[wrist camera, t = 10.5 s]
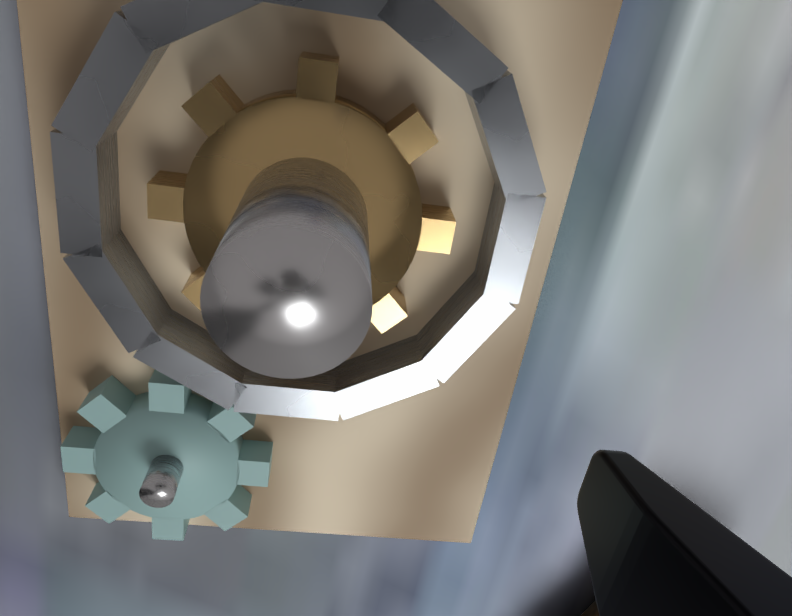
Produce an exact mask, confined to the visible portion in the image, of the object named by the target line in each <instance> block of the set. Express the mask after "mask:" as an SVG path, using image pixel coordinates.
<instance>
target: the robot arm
mask: <svg viewBox="0 0 792 616" xmlns="http://www.w3.org/2000/svg"><path fill="white" fill-rule="evenodd" d="M577 508H578V515H579V520H580V525H581V530H582V535H583V539H584V544H585V549H586V554H587V559H588V564H589V569H590V574H591V579H592V584H593V589H594V594H595V599H596V603H597V607H598V611H599V616H792V577H791V576H789V575H788V574H787V573H785V572H784V571H783V570H781V569H780V568H779V567H777V566H776V565H775V564H774V563H772V562H771V561H770V560H768V559H767V558H766V557H764V556H763V555H762V554H760V553H759V552H758V551H756V550H755V549H754V548H752V547H751V546H750V545H748V544H747V543H746V542H744V541H743V540H742V539H741V538H739V537H738V536H737V535H735V534H734V533H733V532H731V531H730V530H729V529H727V528H726V527H725V526H723V525H722V524H721V523H719V522H718V521H717V520H715V519H714V518H713V517H711V516H710V515H709V514H708V513H706V512H705V511H704V510H702V509H701V508H700V507H698V506H697V505H696V504H694V503H693V502H692V501H690V500H689V499H688V498H686V497H685V496H684V495H682V494H681V493H680V492H679V491H677V490H676V489H675V488H673V487H672V486H671V485H669V484H668V483H667V482H665V481H664V480H663V479H661V478H660V477H659V476H657V475H656V474H655V473H653V472H652V471H651V470H649V469H648V468H647V467H646V466H644V465H643V464H642V463H640V462H639V461H638V460H636V459H635V458H634V457H632V456H631V455H630V454H628V453H626V452H622V451H611V450H599V451H597V452H595V454H594V455H593V456H592V458H591V461H590V464H589V466H588V469H587V472H586V475H585V477H584V480H583V483H582V486H581V488H580V491H579V494H578V501H577Z"/></svg>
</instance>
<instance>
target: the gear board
mask: <svg viewBox="0 0 792 616" xmlns="http://www.w3.org/2000/svg"><path fill="white" fill-rule="evenodd" d="M622 1H623V0H17V8H18V18H19V28H20V38H21V47H22V57H23V67H24V77H25V87H26V97H27V107H28V116H29V126H30V136H31V146H32V156H33V166H34V175H35V185H36V195H37V205H38V215H39V225H40V234H41V244H42V254H43V264H44V274H45V284H46V294H47V303H48V313H49V323H50V333H51V343H52V353H53V362H54V372H55V382H56V392H57V402H58V412H59V421H60V431H61V441H62V445H61V446H60V447H61V457H62V466H63V472H65V480H66V490H67V500H68V510H69V517H81V518H96V519H103V520H105V521H106V522H107V523H109V524H110V523H111V522H113V521H114V520H127V521H142V522H152V539H162V540H178V541H183V540H184V537H185V534H186V530H187V527H188V525H203V526H218V527H220V528H222V529H223V530H224V531H226V530H228V529H230V528H231V527H234V528H249V529H264V530H280V531H295V532H310V533H326V534H341V535H356V536H372V537H387V538H402V539H418V540H433V541H448V542H464V543H471V540H472V536H473V533H474V529H475V526H476V522H477V519H478V515H479V511H480V508H481V504H482V501H483V497H484V494H485V490H486V487H487V483H488V479H489V476H490V472H491V469H492V465H493V462H494V458H495V454H496V451H497V447H498V444H499V440H500V437H501V433H502V429H503V426H504V422H505V419H506V415H507V412H508V408H509V404H510V401H511V397H512V394H513V390H514V387H515V383H516V379H517V376H518V372H519V369H520V365H521V362H522V358H523V354H524V351H525V347H526V344H527V340H528V337H529V333H530V329H531V326H532V322H533V319H534V315H535V312H536V308H537V305H538V301H539V297H540V294H541V290H542V287H543V283H544V280H545V276H546V272H547V269H548V265H549V262H550V258H551V255H552V251H553V247H554V244H555V240H556V237H557V233H558V230H559V226H560V222H561V219H562V215H563V212H564V208H565V205H566V201H567V197H568V194H569V190H570V187H571V183H572V180H573V176H574V172H575V169H576V165H577V162H578V158H579V155H580V151H581V147H582V144H583V140H584V137H585V133H586V130H587V126H588V123H589V119H590V115H591V112H592V108H593V105H594V101H595V98H596V94H597V90H598V87H599V83H600V80H601V76H602V73H603V69H604V65H605V62H606V58H607V55H608V51H609V48H610V44H611V40H612V37H613V33H614V30H615V26H616V23H617V19H618V15H619V12H620V8H621V5H622ZM302 51H304V52H311V53H317V54H324V55H330V56H337V57H340V59H339V68H338V78H337V88H336V95H339V96H342V97H344V98H347V99H350V100H352V101H353V102H355V103H357V104H359V105H361V106H363V107H364V108H366V109H367V110H369V111H370V112H372V113H373V114H375V115H376V116H377V117H378V118H379V119H380V120H381V121H383V122H384V123H385V124H386V123H387V122H388V121H390V120H391V119H392V118H394V117H395V116H396V115H398V114H399V113H400V112H401V111H403V110H404V109H405V108H407V107H408V106H409V105H411V104H412V103H414V104H415V106H416V107H417V108H418V110H419V111H420V113H421V114H422V115H423V117H424V118H425V120H426V121H427V123H428V124H429V125H430V127H431V128H432V130H433V131H434V133H435V135H436V137H437V139H438V141H439V142H438V143H437V144H436V145H434V146H433V147H432V148H430V149H429V150H427V151H426V152H425V153H423V154H422V155H421V156H419V157H418V158H417V159H415V160H414V161H413V162H411V164H412V168H413V171H414V174H415V177H416V180H417V184H418V187H419V190H420V196H421V202H422V203H423V204H431V205H438V206H446V207H450V208H451V210H452V213H453V215H454V218H455V220H456V226H455V231H454V236H453V241H452V246H451V251H450V254H444V253H436V252H427V251H419V250H417V251H416V253H415V256H414V258H413V261H412V263H411V264H410V266H409V268H408V270H407V272H406V273H405V275H404V276H403V277H402V279H401V280H400V281H399V283H398V284H397V285H396V287H397V288H398V289H399V290H400V291H401V293H402V294H403V295H404V296H405V301H406V307H407V314H408V316H407V317H406V318H404V319H403V320H401V321H400V322H398V323H397V324H395V325H394V326H392V327H391V328H389V329H388V330H387V331H385V332H384V333H381V332H380V331H379V330H378V329H377V328H376V327H375V325H374V324H373V323H372V322H370V326H369V329H368V331H367V334H366V336H365V338H364V340H363V341H362V343H361V344H360V346H359V347H358V348H357V350H356V351H355V352H354V353H353V354H352V355H351V356H350V357H349V358H348V359H346V360H345V361H344V362H343V363H341V364H340V365H338V366H336V367H335V368H333V369H331V370H329V371H326V372H324V373H321V374H318V375H315V376H311V377H305V378H296V379H285V378H275V377H270V376H266V375H262V374H259V373H256V372H253V371H251V370H249V369H247V368H245V367H243V366H241V365H239V364H238V363H236V362H235V361H233V360H232V359H231V358H230V357H228V356H227V355H226V354H225V353H224V352H223V351H222V350H221V349H220V348H219V347H218V346H217V344H216V343H215V342H214V340H213V339H212V337H211V336H210V334H209V332H208V330H207V328H206V326H205V323H204V320H203V318H202V313H201V311H200V310H199V309H198V308H197V307H196V306H195V305H194V304H193V303H192V302H191V301H190V300H189V299H188V298H187V297H186V296H184V295H183V294H182V293H181V291H182V289H183V287H184V286H185V284H186V282H187V280H188V278H189V276H190V274H191V273H192V272H194V271H195V270H196V269H197V268H199V267H200V264H199V263H198V261H197V259H196V257H195V255H194V253H193V251H192V249H191V246H190V243H189V240H188V237H187V234H186V229H185V224H184V223H181V222H173V221H164V220H156V219H148V213H147V183H148V182H149V181H150V180H151V179H152V178H153V177H154V176H155V175H156V174H157V173H158V172H159V170H163V171H170V172H178V173H186V174H188V172H189V169H190V166H191V164H192V161H193V159H194V158H195V156H196V154H197V152H198V150H199V149H200V147H201V146H202V144H203V143H204V142H205V141H206V139H207V138H208V136H207V135H206V134H205V133H204V132H203V130H202V129H201V128H200V127H199V126H198V125H197V124H196V123H195V121H194V120H193V119H192V118H191V117H190V116H189V115H188V113H187V112H186V111H185V110H184V109H183V108H182V107H181V106H182V105H183V104H184V103H185V102H186V101H188V100H189V99H190V98H191V97H192V96H193V95H195V94H196V93H197V92H198V91H199V90H200V89H202V88H203V87H204V86H205V85H206V84H207V83H209V82H210V81H211V80H212V79H214V78H215V77H216V76H218V75H219V74H220V76H221V77H222V78H223V79H224V80H225V82H226V83H227V84H228V85H229V86H230V88H231V89H232V90H233V91H234V92H235V94H236V95H237V96H238V97H239V98H240V100H241V101H242V102H243V103H244V104H246V103H248V102H249V101H251V100H253V99H255V98H258V97H261V96H264V95H266V94H269V93H273V92H278V91H283V90H293V89H296V88H297V75H298V62H299V56H300V55H301V53H302Z"/></svg>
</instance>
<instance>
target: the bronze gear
mask: <svg viewBox="0 0 792 616" xmlns="http://www.w3.org/2000/svg"><path fill="white" fill-rule="evenodd" d="M339 59H340V57H337V56H330V55H324V54H317V53H311V52H304V51H302V53H301V55H300V56H299V62H298V75H297V88H296V89H293V90H283V91H278V92H273V93H269V94H266V95H264V96H261V97H258V98H255V99H253V100H251V101H249V102H248V103H246V104H244V103H243V102H242V101H241V100H240V98H239V97H238V96H237V95H236V94H235V92H234V91H233V90H232V89H231V88H230V86H229V85H228V84H227V83H226V82H225V80H224V79H223V78H222V77H221V76H220V74H219V75H218V76H216V77H215V78H214V79H212V80H211V81H210V82H209V83H207V84H206V85H205V86H204V87H203V88H202V89H200V90H199V91H198V92H197V93H196V94H195V95H193V96H192V97H191V98H190V99H189V100H188V101H186V102H185V103H184V104H183V105H182V106H181V107H182V108H183V109H184V110H185V111H186V112H187V113H188V115H189V116H190V117H191V118H192V119H193V120H194V121H195V123H196V124H197V125H198V126H199V127H200V128H201V129H202V130H203V132H204V133H205V134H206V135H207V136H208V138H207V139H206V141H205V142H204V143H203V144H202V146H201V147H200V149H199V150H198V152H197V154H196V156H195V158H194V159H193V161H192V164H191V166H190V169H189V172H188V174H186V173H178V172H170V171H163V170H159V172H158V173H157V174H156V175H155V176H154V177H153V178H152V179H151V180H150V181H149V182H148V183H147V213H148V219H156V220H164V221H173V222H181V223H184V224H185V229H186V234H187V237H188V240H189V243H190V246H191V249H192V251H193V253H194V255H195V257H196V259H197V261H198V263H199V264H200V267H199V268H197V269H196V270H195V271H194V272H192V273H191V274H190V276H189V278H188V280H187V282H186V284H185V286H184V287H183V289H182V291H181V293H182V294H183V295H184V296H186V297H187V298H188V299H189V300H190V301H191V302H192V303H193V304H194V305H195V306H196V307H197V308H198V309H199V310H200V311H201V313H202V318H203V320H204V323H205V326H206V328H207V330H208V332H209V334H210V336H211V337H212V339H213V340H214V342H215V343H216V344H217V346H218V347H219V348H220V349H221V350H222V351H223V352H224V353H225V354H226V355H227V356H228V357H230V358H231V359H232V360H233V361H235V362H236V363H238V364H239V365H241V366H243V367H245V368H247V369H249V370H251V371H253V372H256V373H259V374H262V375H266V376H270V377H275V378H285V379H296V378H305V377H311V376H315V375H318V374H321V373H324V372H326V371H329V370H331V369H333V368H335V367H336V366H338V365H340V364H341V363H343V362H344V361H345V360H346V359H348V358H349V357H350V356H351V355H352V354H353V353H354V352H355V351H356V350H357V348H358V347H359V346H360V344H361V343H362V341H363V340H364V338H365V336H366V334H367V331H368V329H369V326H370V322H372V323H373V324H374V325H375V327H376V328H377V329H378V330H379V331H380V332H381V333H384V332H385V331H387V330H388V329H389V328H391V327H392V326H394V325H395V324H397V323H398V322H400V321H401V320H403V319H404V318H406V317H407V316H408V314H407V307H406V301H405V296H404V295H403V294H402V293H401V291H400V290H399V289H398V288H397V287H396V285H397V284H398V283H399V281H400V280H401V279H402V277H403V276H404V275H405V273H406V272H407V270H408V268H409V266H410V264H411V263H412V261H413V258H414V256H415V253H416V251H417V250H419V251H427V252H436V253H444V254H450V251H451V246H452V241H453V236H454V231H455V226H456V220H455V218H454V215H453V213H452V210H451V208H450V207H446V206H438V205H431V204H423V203H422V202H421V196H420V190H419V187H418V184H417V180H416V177H415V174H414V171H413V168H412V164H411V162H413V161H414V160H415V159H417V158H418V157H419V156H421V155H422V154H423V153H425V152H426V151H427V150H429V149H430V148H432V147H433V146H434V145H436V144H437V143H438V142H439V141H438V139H437V137H436V135H435V133H434V131H433V130H432V128H431V127H430V125H429V124H428V123H427V121H426V120H425V118H424V117H423V115H422V114H421V113H420V111H419V110H418V108H417V107H416V106H415V104H414V103H412V104H411V105H409V106H408V107H407V108H405V109H404V110H403V111H401V112H400V113H399V114H398V115H396V116H395V117H394V118H392V119H391V120H390V121H388V122H387V123H386V124H385V123H384V122H383V121H381V120H380V119H379V118H378V117H377V116H376V115H375V114H373V113H372V112H370V111H369V110H367V109H366V108H364V107H363V106H361V105H359V104H357V103H355V102H353V101H352V100H350V99H347V98H344V97H342V96H339V95H336V88H337V78H338V68H339Z"/></svg>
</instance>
